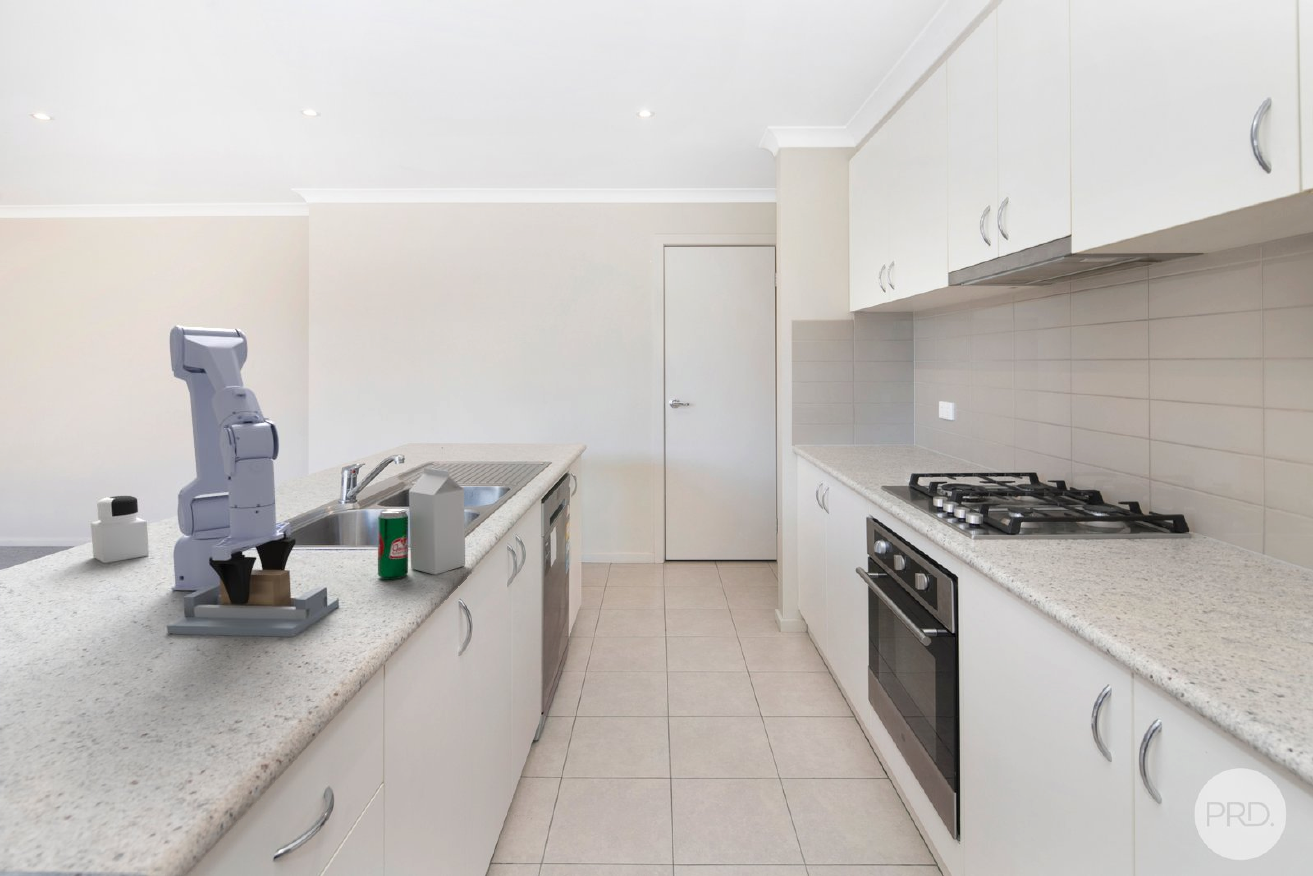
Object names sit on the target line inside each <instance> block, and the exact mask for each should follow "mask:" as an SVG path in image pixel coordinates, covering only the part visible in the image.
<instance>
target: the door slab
mask: <svg viewBox="0 0 1313 876" xmlns="http://www.w3.org/2000/svg"><path fill="white" fill-rule="evenodd" d="M291 592H292V591H291V574H290V569H285V570H262V569H252V573H251V578H250V594H249V600H248V603H246V604H231V602H230V599H229V596H228V594H227V591H226V589H225V586H224V584H223V582H222V580H221V578H220V593H221V605H235V606H279V607H291V596H292V594H291Z"/></svg>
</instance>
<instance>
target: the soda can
mask: <svg viewBox="0 0 1313 876" xmlns="http://www.w3.org/2000/svg"><path fill="white" fill-rule="evenodd" d="M379 513H380V514H379V515H378V517H377V575H378V577H379V578H380V579H383V580H398V579H402V578H404V577H405V576H406V575H408V573H409V515H408V514H407V509H401V508H392V509H382V510H380V512H379Z"/></svg>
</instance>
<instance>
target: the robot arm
mask: <svg viewBox="0 0 1313 876" xmlns="http://www.w3.org/2000/svg"><path fill="white" fill-rule="evenodd" d="M169 352H170V366H171V371H172V372H173V377H174V378H176V379H179V380H182V381H184V382H185V383H186V387H187V389H188V392H189V399H190V410H191V421H192V424H191V425H192V435H193V436H192V437H193V446H194V459H195V467H196V469H195V471H196V478H194V479H193V480H192V481H190V482H189V483H187V484H186V485H185V486H184V487H182V488H181V490H180V491H179V492H178V494H177V500H178V503H177V522H178V527H179V530H180V532H181V534H183V535H182V536H180V538H179V539H178V540H176V543H175V544H174V547H173V555H172V556H173V567H174V569H173V570H174V586H171V590H172V591H198V590H200V589H202V588H205V587H207V586H209V585H211V584H218V585H220V578H221V580H222V582H223V584H224V586H225V589H226V591H227V594H228V596H229V599H230V602H231V604H246V603H248V600H249V594H250V578H251V573H252V570H254V565H255V562H256V561H257V557H256V556H246V555H245V554H244V552H247V551H249V550H251V549H253V548H255V550H256V552H257V554H258V556H259V560H260V565H261V570H286V567H287V566H286V565H287V562H288V561H289V560H288V558H289V557H290V554H291V552H292V550H293V548H294V547H295V545H296V544H297V543H296V537H289V536H290V535H292V529H291V527H292V526H291V522H277V511H276V510H277V509H276V508H277V507H276V492H275V491H276V490H275V489H276V488H275V471H274V470H275V466H274V461H275V460H277V459H278V457H279V452H280V451H279V450H280V439H279V434H278V430H277V427H276V424H275V422H273V421H271V420H270V418H268V417H265V416H264V415H263V411H262V409H261V407H260V403H259V402H258V399H257V396H256V394H255V392H254V391H253V390H252V389H250V388H248V387H245V385H244V382H243V381H244V380H243V378H242V373H241V371H242V368H243V366H244V365H245V363H246V361H247V359H248V340H247V336H246V335H245V333H244V332H243V331H242V330H241V329H240V328H234V329H229V328H213V327H212V328H211V327H210V328H209V327H191V326H189V327H188V326H182V325H175V326H174V327H173V328H171V330H170V333H169ZM221 493H228V494H222V495H214V494H221ZM211 494H212V495H213V496H204V497H198V496H203V495H211Z"/></svg>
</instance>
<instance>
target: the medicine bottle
mask: <svg viewBox="0 0 1313 876" xmlns="http://www.w3.org/2000/svg"><path fill="white" fill-rule="evenodd" d="M96 504H97V518H98V519H97V521H93V522H91V523H90V528H91V529H90V530H91V543H92V546H91V547H92V556H93V558H95V559H96V560H98V561H100V562H101V563H104V564H108V563H114V562H119V561H125V560H132V559H135V558H142V557H148V556H149V555H150V548H149V547H150V546H149V534H148V533H149V532H148V521H146V520H144V519H142V518H139V517H138V516H139V508H138V507H139V505H138V498H137V497H136V496H135V497H134V496H132V495H116V496H108V497H107V496H106V497H104V498H102V499H99V500H98V501H97V503H96Z"/></svg>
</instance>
